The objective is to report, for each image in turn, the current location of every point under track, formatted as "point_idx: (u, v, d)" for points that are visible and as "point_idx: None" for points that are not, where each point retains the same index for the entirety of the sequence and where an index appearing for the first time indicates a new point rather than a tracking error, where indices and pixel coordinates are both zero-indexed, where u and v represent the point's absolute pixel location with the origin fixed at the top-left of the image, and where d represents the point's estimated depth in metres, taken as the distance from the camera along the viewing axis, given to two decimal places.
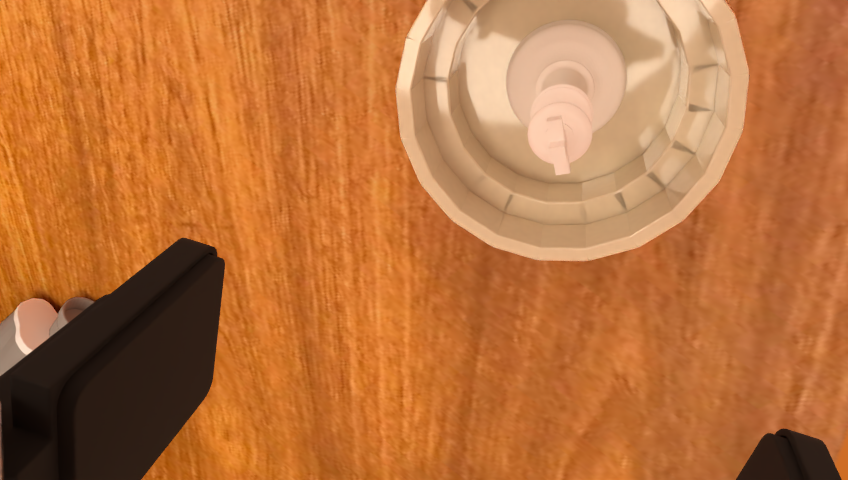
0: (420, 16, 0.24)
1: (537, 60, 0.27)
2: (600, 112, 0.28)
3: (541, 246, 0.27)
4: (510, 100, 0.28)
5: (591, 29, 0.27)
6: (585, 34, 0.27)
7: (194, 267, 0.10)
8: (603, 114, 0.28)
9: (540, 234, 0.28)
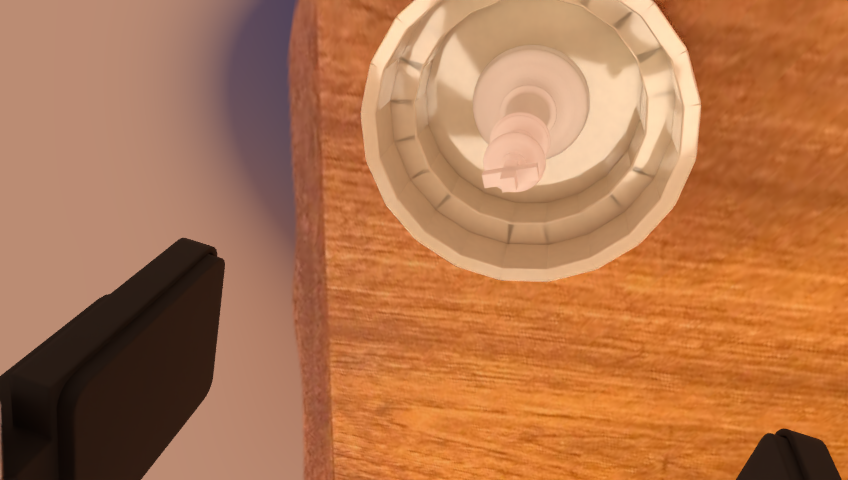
0: (438, 253, 0.28)
1: None
2: (557, 73, 0.27)
3: (679, 153, 0.24)
4: None
5: (478, 84, 0.28)
6: (481, 91, 0.28)
7: (194, 267, 0.10)
8: (559, 70, 0.27)
9: (675, 146, 0.25)
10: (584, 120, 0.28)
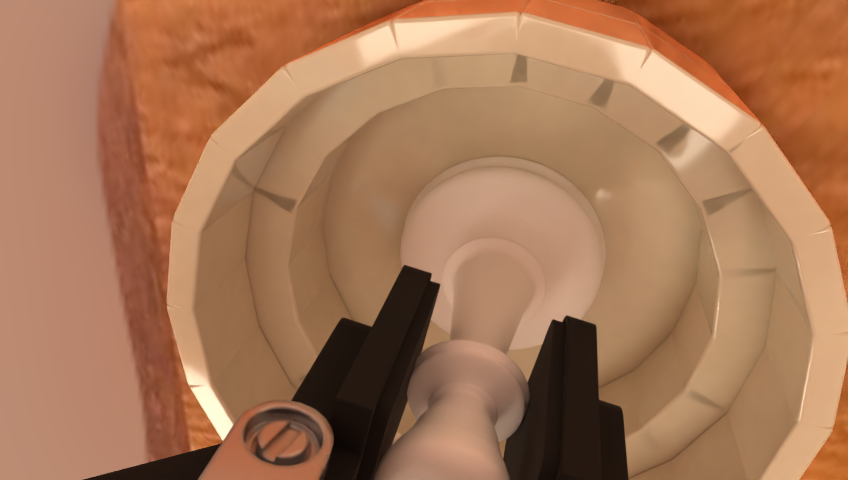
0: None
1: (452, 311, 0.16)
2: (546, 213, 0.15)
3: (795, 417, 0.12)
4: (523, 348, 0.17)
5: (407, 224, 0.16)
6: (412, 235, 0.16)
7: (424, 293, 0.11)
8: (550, 208, 0.15)
9: (778, 380, 0.13)
10: (596, 290, 0.16)
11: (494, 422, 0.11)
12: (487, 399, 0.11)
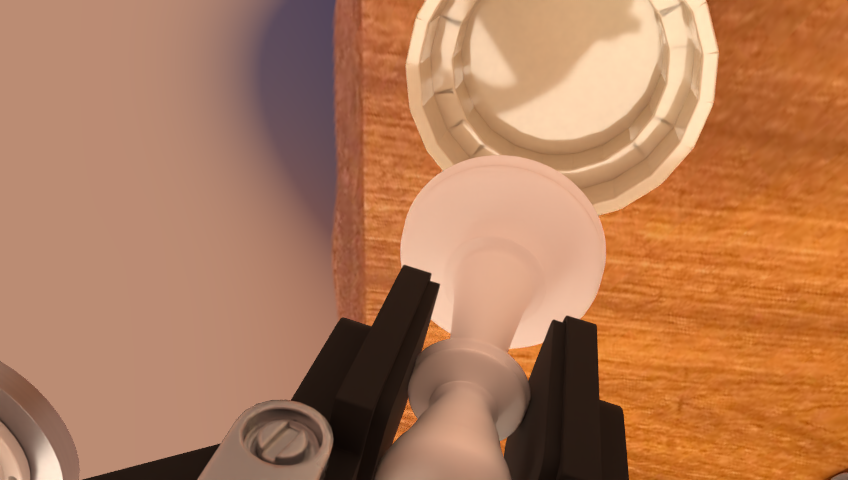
0: None
1: (452, 310, 0.16)
2: (546, 212, 0.15)
3: (697, 99, 0.26)
4: (524, 346, 0.17)
5: (407, 223, 0.16)
6: (413, 234, 0.16)
7: (424, 293, 0.11)
8: (551, 206, 0.15)
9: (694, 94, 0.28)
10: (596, 289, 0.16)
11: (495, 420, 0.11)
12: (488, 397, 0.11)
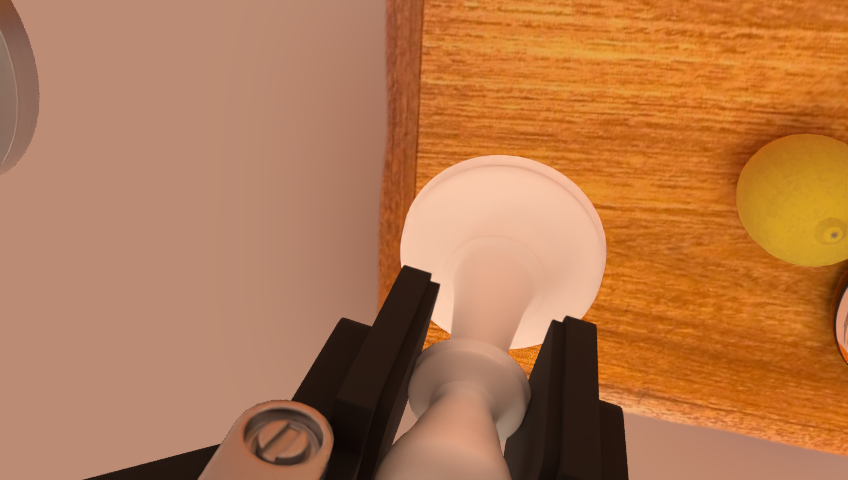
0: None
1: (452, 310, 0.16)
2: (546, 212, 0.15)
3: None
4: (524, 347, 0.17)
5: (407, 223, 0.16)
6: (413, 234, 0.16)
7: (424, 293, 0.11)
8: (551, 206, 0.15)
9: None
10: (596, 289, 0.16)
11: (495, 421, 0.11)
12: (488, 398, 0.11)
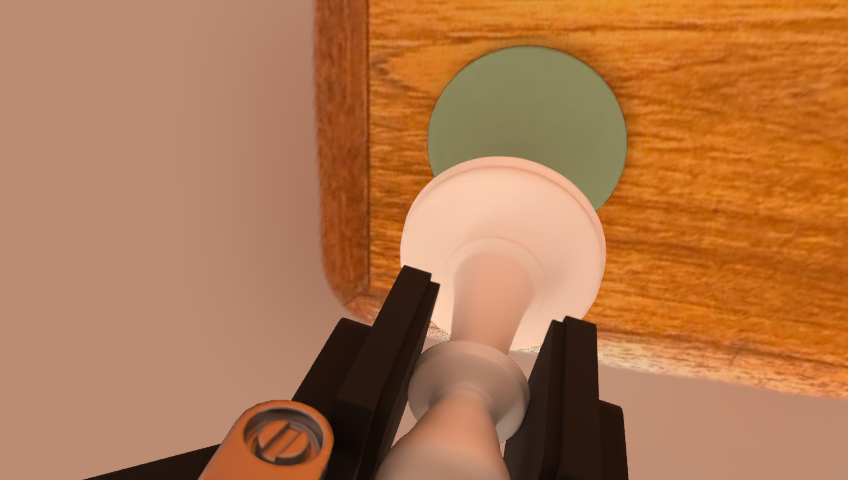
0: None
1: (452, 311, 0.16)
2: (546, 214, 0.15)
3: None
4: (524, 348, 0.17)
5: (407, 224, 0.16)
6: (412, 236, 0.16)
7: (424, 293, 0.11)
8: (551, 208, 0.15)
9: None
10: (596, 290, 0.16)
11: (495, 423, 0.11)
12: (488, 400, 0.11)
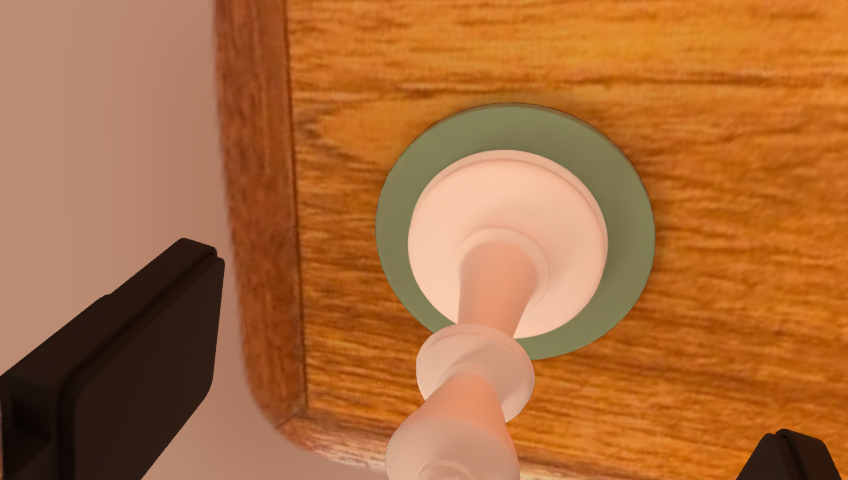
0: None
1: (458, 300, 0.17)
2: (550, 205, 0.15)
3: None
4: (527, 336, 0.17)
5: (414, 215, 0.17)
6: (420, 226, 0.16)
7: (194, 267, 0.10)
8: (554, 199, 0.15)
9: None
10: (598, 280, 0.16)
11: (500, 402, 0.12)
12: (494, 380, 0.11)
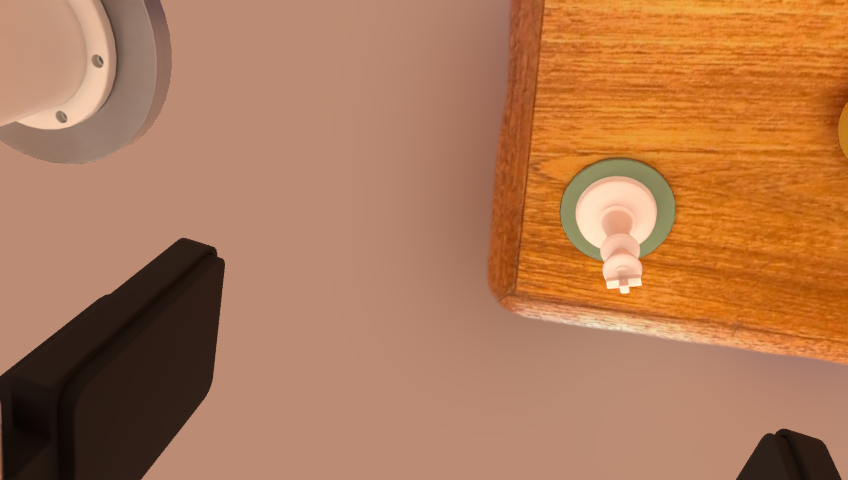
0: None
1: (597, 235, 0.42)
2: (636, 197, 0.41)
3: None
4: None
5: (581, 201, 0.42)
6: (583, 205, 0.42)
7: (194, 267, 0.10)
8: (638, 195, 0.41)
9: None
10: (653, 226, 0.42)
11: None
12: (628, 250, 0.37)
